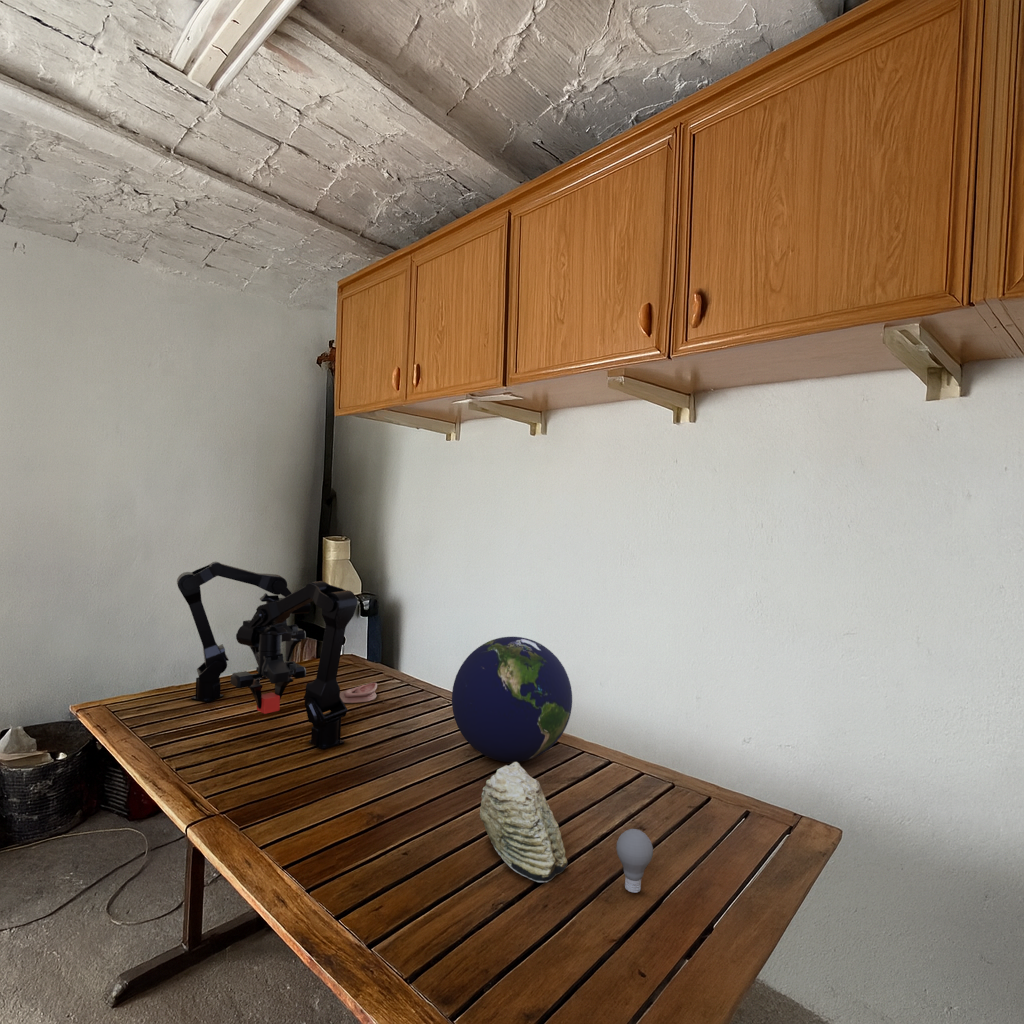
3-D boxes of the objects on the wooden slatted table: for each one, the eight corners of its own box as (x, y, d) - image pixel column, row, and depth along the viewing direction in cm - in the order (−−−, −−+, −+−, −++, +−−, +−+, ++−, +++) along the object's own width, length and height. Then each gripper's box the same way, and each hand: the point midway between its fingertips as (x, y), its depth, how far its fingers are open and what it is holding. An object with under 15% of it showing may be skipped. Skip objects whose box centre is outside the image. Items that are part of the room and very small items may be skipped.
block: (264, 714, 169) (264, 699, 169) (256, 709, 172) (256, 695, 172) (279, 710, 173) (280, 695, 173) (271, 706, 176) (272, 692, 176)
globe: (497, 727, 179) (502, 621, 178) (591, 755, 161) (596, 638, 161) (424, 759, 155) (429, 637, 154) (524, 797, 137) (530, 659, 137)
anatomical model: (326, 688, 195) (343, 678, 206) (325, 700, 195) (343, 690, 206) (366, 692, 192) (381, 682, 203) (365, 705, 192) (381, 694, 203)
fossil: (501, 827, 124) (504, 751, 124) (575, 868, 111) (578, 784, 111) (467, 843, 118) (470, 763, 118) (541, 889, 105) (545, 799, 105)
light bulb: (610, 879, 108) (613, 822, 108) (644, 879, 109) (647, 822, 109) (619, 902, 102) (622, 840, 102) (655, 901, 103) (658, 840, 103)
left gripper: (256, 621, 190) (254, 673, 190) (314, 615, 203) (312, 664, 203) (241, 615, 198) (240, 665, 198) (298, 610, 211) (297, 657, 211)
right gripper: (246, 660, 160) (244, 722, 160) (315, 650, 173) (313, 707, 173) (230, 651, 168) (228, 710, 168) (298, 643, 181) (296, 697, 181)
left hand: (273, 663), depth 202 cm, fingers open, 9 cm apart
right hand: (268, 706), depth 172 cm, fingers closed on block, 4 cm apart
